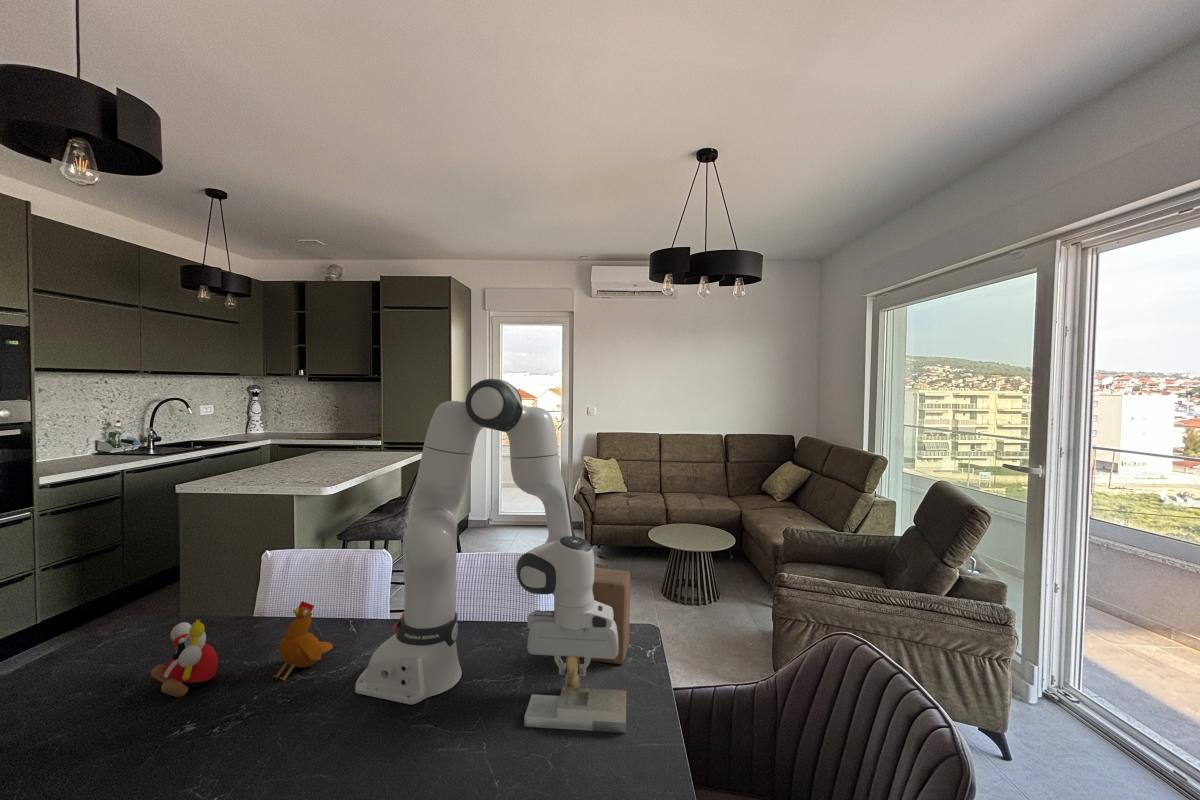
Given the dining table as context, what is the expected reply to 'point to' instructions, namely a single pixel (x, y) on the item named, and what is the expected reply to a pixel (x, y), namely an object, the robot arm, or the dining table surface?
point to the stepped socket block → (579, 710)
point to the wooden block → (615, 604)
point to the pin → (572, 671)
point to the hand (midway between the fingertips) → (572, 673)
